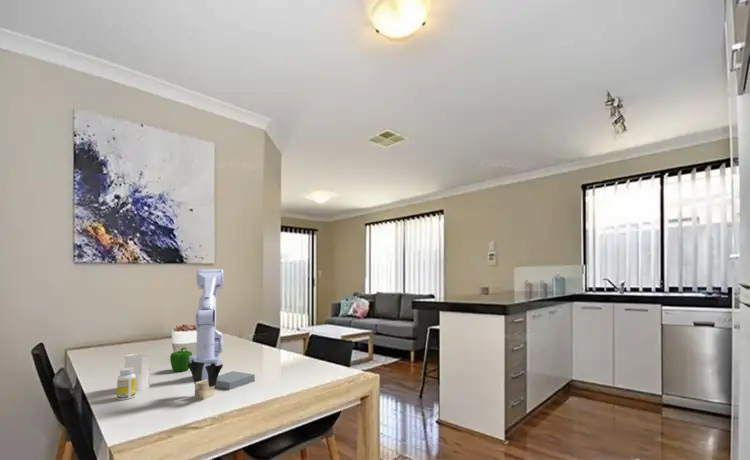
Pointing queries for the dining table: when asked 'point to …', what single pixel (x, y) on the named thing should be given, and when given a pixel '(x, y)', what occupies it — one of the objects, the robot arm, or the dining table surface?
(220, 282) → the robot arm
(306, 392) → the dining table surface
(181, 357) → the bell pepper
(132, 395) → the supplement bottle
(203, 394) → the ash block
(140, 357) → the base with upright slab
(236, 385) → the slate plinth
